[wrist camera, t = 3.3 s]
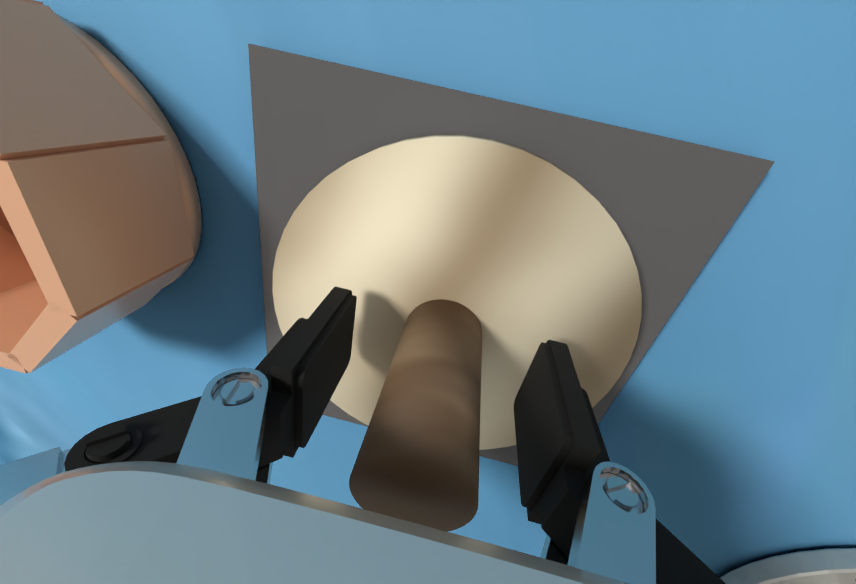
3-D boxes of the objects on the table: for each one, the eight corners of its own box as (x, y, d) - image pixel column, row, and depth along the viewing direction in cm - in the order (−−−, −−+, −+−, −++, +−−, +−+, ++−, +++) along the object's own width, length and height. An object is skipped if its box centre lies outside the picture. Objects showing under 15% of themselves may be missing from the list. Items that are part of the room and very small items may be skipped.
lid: (715, 188, 10) (1064, 331, 4) (550, 459, 17) (585, 667, 11) (280, 91, 10) (-6, 87, 4) (289, 392, 17) (180, 555, 11)
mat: (759, 158, 10) (774, 161, 9) (559, 466, 18) (562, 477, 17) (260, 46, 10) (248, 43, 10) (276, 392, 18) (270, 400, 18)
